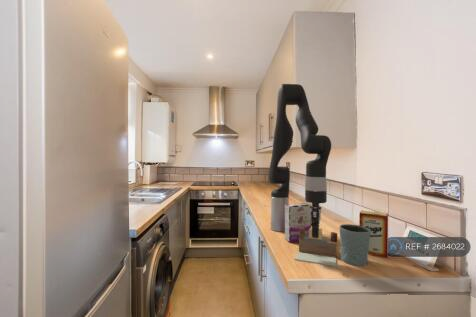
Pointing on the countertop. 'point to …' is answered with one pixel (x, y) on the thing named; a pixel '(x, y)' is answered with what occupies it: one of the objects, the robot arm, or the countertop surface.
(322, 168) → the robot arm
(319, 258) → the mat
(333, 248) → the body
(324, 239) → the lever cap
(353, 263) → the teal cup
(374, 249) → the baking soda box
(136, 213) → the countertop surface
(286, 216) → the candy bar box
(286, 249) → the countertop surface
